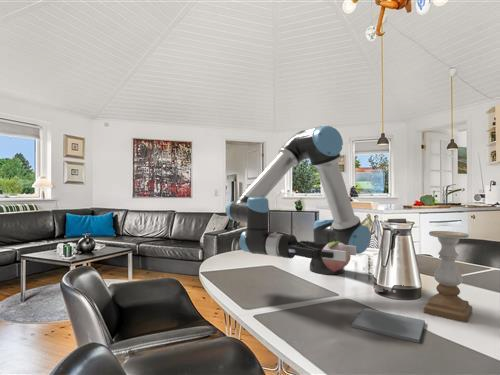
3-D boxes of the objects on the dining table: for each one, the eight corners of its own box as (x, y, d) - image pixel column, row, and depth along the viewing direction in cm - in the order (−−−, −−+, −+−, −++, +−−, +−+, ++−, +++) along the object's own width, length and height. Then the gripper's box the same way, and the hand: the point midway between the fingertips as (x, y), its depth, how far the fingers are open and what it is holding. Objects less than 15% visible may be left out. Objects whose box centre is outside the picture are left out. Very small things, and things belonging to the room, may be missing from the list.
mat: (351, 326, 86) (351, 323, 86) (364, 310, 98) (364, 308, 98) (418, 343, 77) (418, 339, 77) (424, 323, 89) (424, 320, 89)
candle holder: (472, 312, 98) (473, 233, 98) (466, 323, 89) (467, 236, 90) (432, 303, 105) (432, 229, 105) (422, 312, 97) (423, 232, 97)
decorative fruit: (348, 277, 91) (349, 241, 91) (319, 274, 94) (320, 239, 94) (351, 269, 100) (351, 237, 100) (324, 267, 103) (324, 235, 103)
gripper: (265, 238, 97) (338, 245, 85) (297, 230, 116) (361, 236, 104) (265, 263, 97) (338, 274, 85) (296, 251, 116) (360, 259, 104)
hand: (350, 253), depth 94 cm, fingers closed on decorative fruit, 9 cm apart
